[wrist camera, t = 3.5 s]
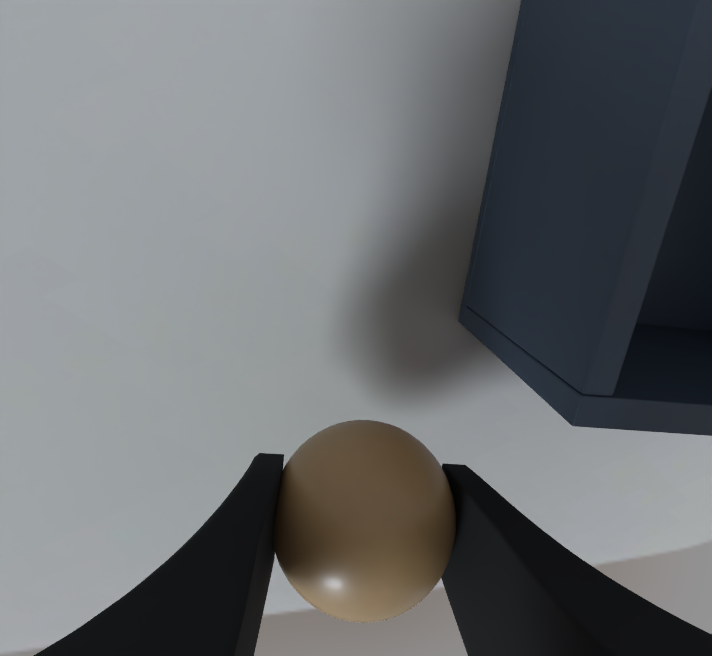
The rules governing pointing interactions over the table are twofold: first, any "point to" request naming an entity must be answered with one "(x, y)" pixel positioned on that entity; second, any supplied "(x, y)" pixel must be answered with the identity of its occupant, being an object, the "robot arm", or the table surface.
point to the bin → (603, 214)
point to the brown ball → (364, 521)
